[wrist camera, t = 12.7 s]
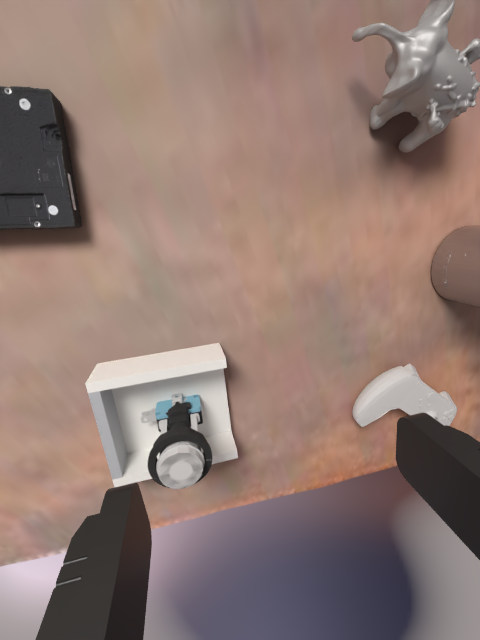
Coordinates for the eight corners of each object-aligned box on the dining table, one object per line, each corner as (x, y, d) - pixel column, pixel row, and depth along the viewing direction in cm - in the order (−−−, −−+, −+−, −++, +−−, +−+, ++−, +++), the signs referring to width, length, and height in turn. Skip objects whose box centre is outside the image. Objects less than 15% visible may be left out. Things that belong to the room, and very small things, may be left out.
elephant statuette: (419, 159, 33) (488, 138, 26) (320, 139, 30) (366, 109, 23) (442, 60, 30) (525, 6, 23) (337, 29, 28) (394, -43, 21)
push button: (146, 432, 34) (135, 508, 24) (137, 390, 32) (122, 454, 23) (205, 420, 35) (217, 489, 25) (199, 379, 33) (209, 436, 24)
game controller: (350, 425, 37) (412, 369, 34) (337, 401, 41) (391, 349, 38) (420, 465, 42) (480, 420, 39) (402, 440, 46) (455, 397, 43)
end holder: (219, 342, 34) (225, 358, 29) (230, 432, 37) (238, 458, 33) (97, 363, 31) (85, 383, 27) (121, 456, 35) (114, 487, 31)
